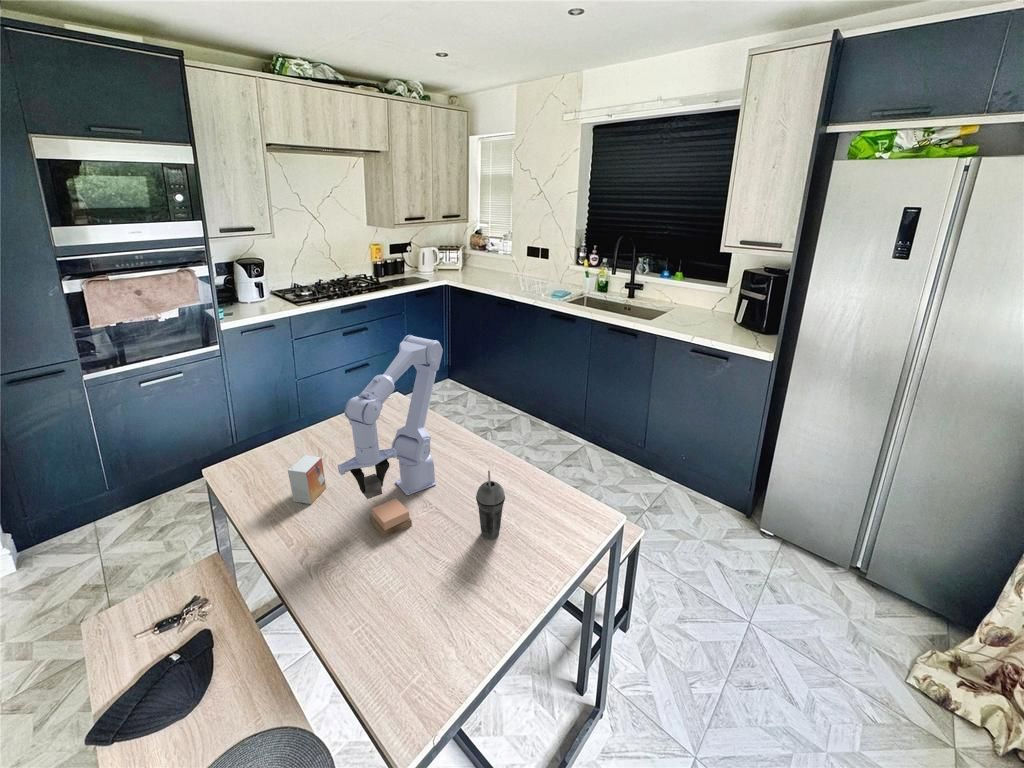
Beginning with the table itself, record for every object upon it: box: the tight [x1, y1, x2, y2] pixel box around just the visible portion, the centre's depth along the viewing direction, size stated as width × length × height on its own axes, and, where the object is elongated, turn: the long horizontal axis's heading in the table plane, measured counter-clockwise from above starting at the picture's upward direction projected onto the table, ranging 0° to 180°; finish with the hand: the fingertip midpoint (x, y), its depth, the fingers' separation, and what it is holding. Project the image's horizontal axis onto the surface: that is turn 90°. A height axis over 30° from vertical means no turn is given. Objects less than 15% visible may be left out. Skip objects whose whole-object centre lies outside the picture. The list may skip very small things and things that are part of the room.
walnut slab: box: [369, 513, 413, 539], centre depth 130 cm, size 8×8×2 cm
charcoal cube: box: [362, 473, 383, 500], centre depth 127 cm, size 4×4×4 cm
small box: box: [287, 454, 327, 505], centre depth 138 cm, size 8×6×10 cm
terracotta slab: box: [371, 497, 411, 530], centre depth 128 cm, size 7×7×2 cm
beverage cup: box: [475, 470, 506, 541], centre depth 123 cm, size 7×7×20 cm
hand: (371, 487), depth 128 cm, fingers closed on charcoal cube, 4 cm apart
